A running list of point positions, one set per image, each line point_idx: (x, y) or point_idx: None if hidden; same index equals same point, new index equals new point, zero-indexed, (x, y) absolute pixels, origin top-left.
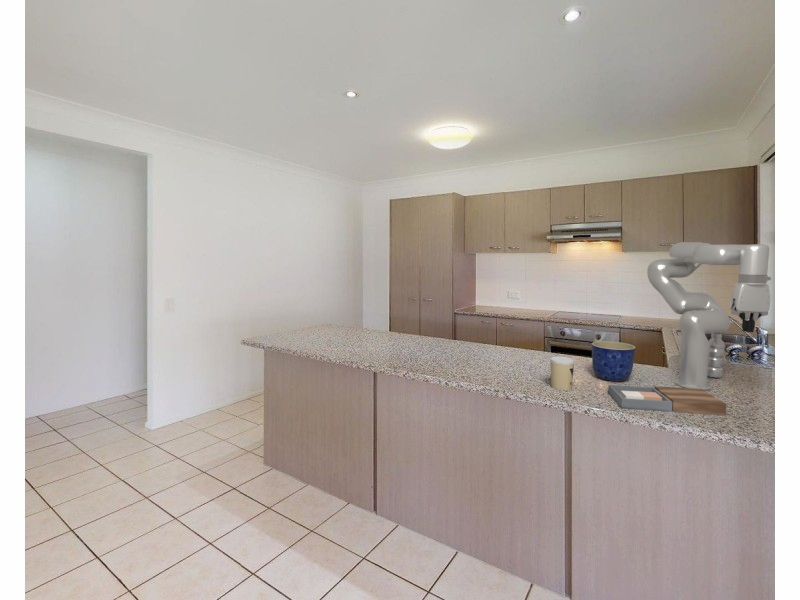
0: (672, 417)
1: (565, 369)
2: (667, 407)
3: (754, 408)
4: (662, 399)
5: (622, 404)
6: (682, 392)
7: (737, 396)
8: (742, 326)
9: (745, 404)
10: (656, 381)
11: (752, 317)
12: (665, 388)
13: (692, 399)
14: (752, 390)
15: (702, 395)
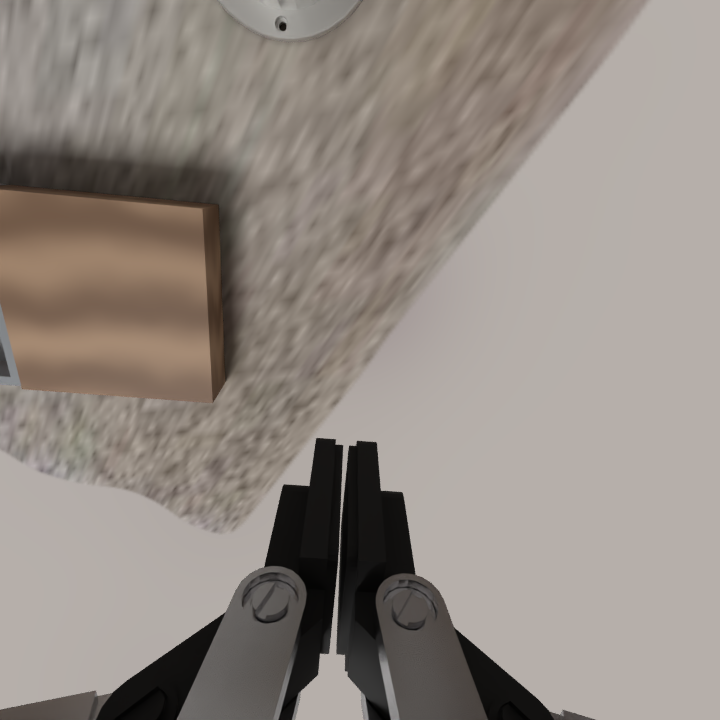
0: (39, 417)
1: None
2: None
3: (377, 303)
4: None
5: None
6: (87, 281)
7: (417, 141)
8: (279, 508)
9: (374, 258)
10: None
11: (381, 698)
12: (20, 223)
13: (101, 368)
14: (581, 8)
15: (162, 315)
